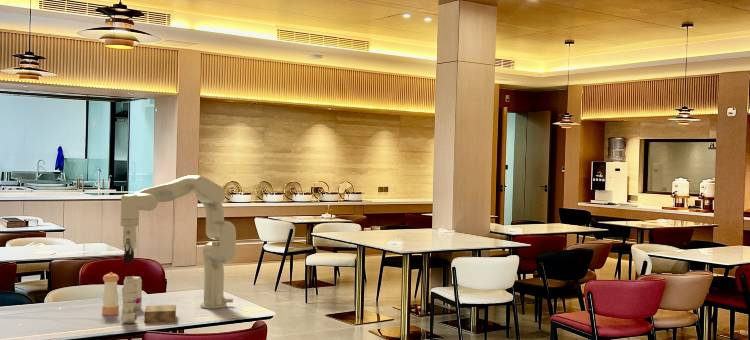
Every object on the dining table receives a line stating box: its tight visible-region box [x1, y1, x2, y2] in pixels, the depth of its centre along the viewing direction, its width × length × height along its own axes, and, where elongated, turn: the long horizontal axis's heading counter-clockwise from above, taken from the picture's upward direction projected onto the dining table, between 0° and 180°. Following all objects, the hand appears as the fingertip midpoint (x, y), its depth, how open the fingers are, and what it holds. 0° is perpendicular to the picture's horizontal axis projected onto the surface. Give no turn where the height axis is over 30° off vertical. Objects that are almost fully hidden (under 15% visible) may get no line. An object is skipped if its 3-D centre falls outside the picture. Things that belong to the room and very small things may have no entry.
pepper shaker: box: [101, 271, 120, 316], centre depth 347 cm, size 7×7×19 cm
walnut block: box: [144, 304, 177, 324], centre depth 337 cm, size 13×13×5 cm
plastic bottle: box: [120, 276, 138, 325], centre depth 328 cm, size 6×7×20 cm
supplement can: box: [123, 275, 143, 311], centre depth 359 cm, size 8×8×15 cm
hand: (128, 261), depth 329 cm, fingers open, 9 cm apart
